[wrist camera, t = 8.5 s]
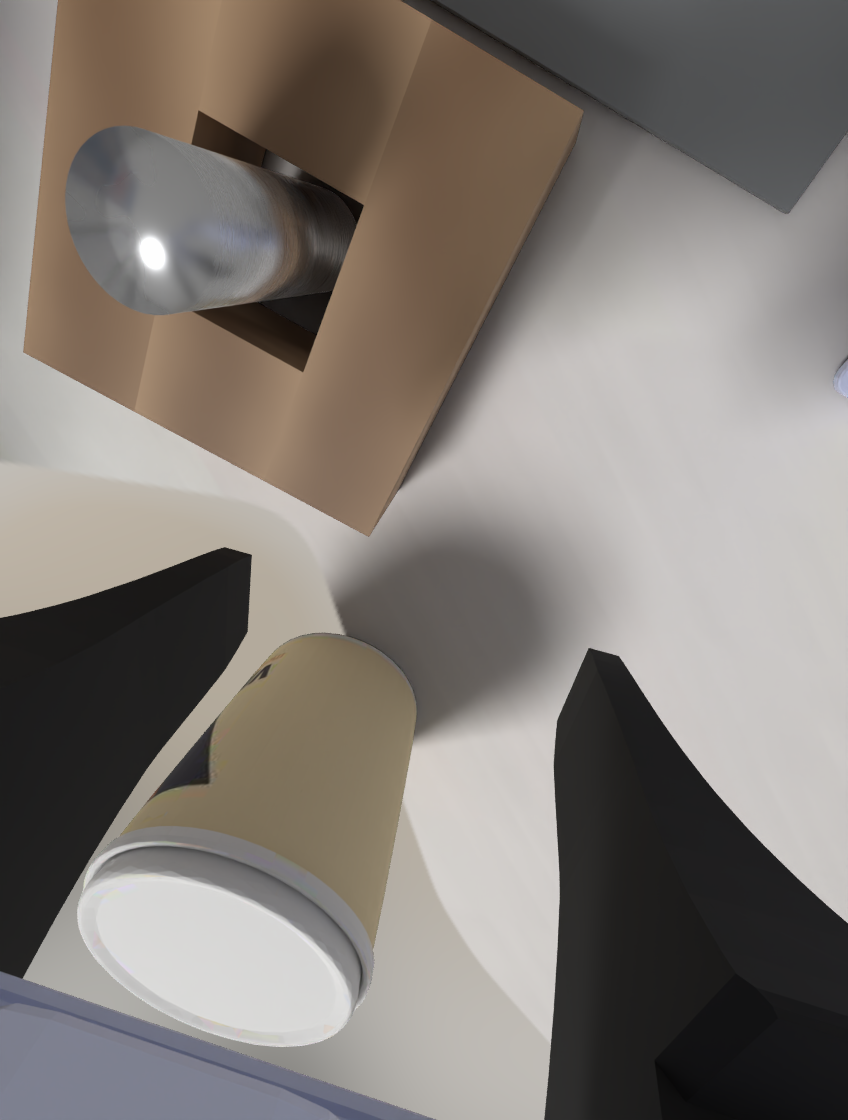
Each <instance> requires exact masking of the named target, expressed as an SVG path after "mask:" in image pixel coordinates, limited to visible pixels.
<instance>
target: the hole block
mask: <svg viewBox="0 0 848 1120" xmlns="http://www.w3.org/2000/svg"><path fill="white" fill-rule="evenodd" d="M583 112H584V110H582V109H580V108H579V107H577V106H575V105H574V104H572V103H570V102H569V101H567V100H565V99H564V98H562V97H560V96H559V95H557V94H555V93H554V92H552V91H550V90H549V89H547V88H545V87H544V86H542V85H540V84H539V83H537V82H535V81H534V80H532V79H530V78H529V77H527V76H525V75H524V74H522V73H520V72H519V71H517V70H515V69H514V68H512V67H510V66H509V65H507V64H505V63H504V62H502V61H500V60H499V59H497V58H495V57H494V56H492V55H490V54H489V53H487V52H485V51H484V50H482V49H481V48H479V47H477V46H476V45H474V44H472V43H471V42H469V41H467V40H466V39H464V38H462V37H461V36H459V35H457V34H456V33H454V32H452V31H451V30H449V29H447V28H446V27H444V26H442V25H441V24H439V23H437V22H436V21H434V20H432V19H431V18H429V17H427V16H426V15H424V14H422V13H421V12H419V11H417V10H416V9H414V8H412V7H411V6H409V5H407V4H406V3H404V2H402V1H401V0H58V6H57V16H56V26H55V36H54V46H53V57H52V67H51V77H50V87H49V97H48V107H47V117H46V127H45V138H44V148H43V158H42V168H41V178H40V188H39V198H38V209H37V219H36V229H35V239H34V249H33V259H32V269H31V279H30V290H29V300H28V310H27V320H26V330H25V340H24V350H23V352H24V353H26V354H28V355H29V356H31V357H33V358H35V359H37V360H39V361H41V362H43V363H44V364H46V365H48V366H50V367H52V368H54V369H56V370H58V371H59V372H61V373H63V374H65V375H67V376H69V377H71V378H73V379H74V380H76V381H78V382H80V383H82V384H84V385H86V386H87V387H89V388H91V389H93V390H95V391H97V392H99V393H101V394H102V395H104V396H106V397H108V398H110V399H112V400H114V401H116V402H117V403H119V404H121V405H123V406H125V407H127V408H129V409H131V410H132V411H134V412H136V413H138V414H140V415H142V416H144V417H145V418H147V419H149V420H151V421H153V422H155V423H157V424H159V425H160V426H162V427H164V428H166V429H168V430H170V431H172V432H174V433H175V434H177V435H179V436H181V437H183V438H185V439H187V440H189V441H190V442H192V443H194V444H196V445H198V446H200V447H202V448H203V449H205V450H207V451H209V452H211V453H213V454H215V455H217V456H218V457H220V458H222V459H224V460H226V461H228V462H230V463H232V464H233V465H235V466H237V467H239V468H241V469H243V470H245V471H247V472H248V473H250V474H252V475H254V476H256V477H258V478H260V479H261V480H263V481H265V482H267V483H269V484H271V485H273V486H275V487H276V488H278V489H280V490H282V491H284V492H286V493H288V494H290V495H291V496H293V497H295V498H297V499H299V500H301V501H303V502H305V503H306V504H308V505H310V506H312V507H314V508H316V509H318V510H319V511H321V512H323V513H325V514H327V515H329V516H331V517H333V518H334V519H336V520H338V521H340V522H342V523H344V524H346V525H348V526H349V527H351V528H353V529H355V530H357V531H359V532H361V533H363V534H364V535H366V536H368V537H369V536H370V534H371V533H372V531H373V529H374V528H375V526H376V525H377V523H378V522H379V520H380V518H381V517H382V515H383V514H384V512H385V511H386V509H387V507H388V506H389V504H390V503H391V501H392V499H393V498H394V496H395V495H396V493H397V491H398V489H399V488H400V486H401V484H402V482H403V480H404V478H405V476H406V474H407V472H408V470H409V468H410V466H411V464H412V462H413V460H414V458H415V456H416V454H417V452H418V450H419V448H420V446H421V444H422V442H423V441H424V439H425V437H426V435H427V433H428V431H429V429H430V427H431V425H432V423H433V421H434V419H435V417H436V415H437V413H438V411H439V409H440V407H441V405H442V403H443V401H444V399H445V397H446V395H447V394H448V392H449V390H450V388H451V386H452V384H453V382H454V380H455V378H456V376H457V374H458V372H459V370H460V368H461V366H462V364H463V362H464V360H465V358H466V356H467V354H468V352H469V350H470V348H471V346H472V345H473V343H474V341H475V339H476V337H477V335H478V333H479V331H480V329H481V327H482V325H483V323H484V321H485V319H486V317H487V315H488V313H489V311H490V309H491V307H492V305H493V303H494V301H495V299H496V298H497V296H498V294H499V292H500V290H501V288H502V286H503V284H504V282H505V280H506V278H507V276H508V274H509V272H510V270H511V268H512V266H513V264H514V262H515V260H516V258H517V256H518V254H519V252H520V250H521V249H522V247H523V245H524V243H525V241H526V239H527V237H528V235H529V233H530V231H531V229H532V227H533V225H534V223H535V221H536V219H537V217H538V215H539V213H540V211H541V209H542V207H543V205H544V203H545V202H546V200H547V198H548V196H549V194H550V192H551V190H552V188H553V186H554V184H555V182H556V180H557V178H558V176H559V174H560V172H561V170H562V168H563V166H564V164H565V162H566V160H567V158H568V156H569V154H570V153H571V151H572V149H573V147H574V145H575V143H576V140H577V136H578V132H579V128H580V124H581V120H582V116H583ZM114 126H133V127H138V128H142V129H145V130H148V131H151V132H154V133H157V134H160V135H163V136H167V137H170V138H173V139H176V140H179V141H182V142H185V143H188V144H191V145H194V146H197V147H200V148H203V149H206V150H209V151H212V152H216V153H219V154H222V155H225V156H228V157H231V158H234V159H237V160H240V161H243V162H246V163H249V164H252V165H255V166H258V167H261V165H262V161H263V158H264V154H265V150H266V149H267V150H269V151H271V152H272V153H274V154H276V155H278V156H279V157H281V158H283V159H285V160H286V161H288V162H290V163H292V164H293V165H295V166H297V167H299V168H300V169H302V170H304V171H305V172H307V173H309V174H311V175H312V176H314V177H316V178H318V179H319V180H321V181H323V182H325V183H326V184H328V185H330V186H332V187H333V188H335V189H337V190H339V191H340V192H342V193H344V194H346V195H347V196H349V197H351V198H353V199H354V200H356V201H358V202H359V203H361V204H363V205H364V207H363V210H362V213H361V215H360V218H359V221H358V224H357V226H356V229H355V232H354V235H353V237H352V240H351V243H350V246H349V248H348V251H347V254H346V257H345V259H344V262H343V265H342V268H341V270H340V273H339V276H338V279H337V281H336V284H335V287H334V290H333V292H332V295H331V298H330V301H329V303H328V306H327V309H326V312H325V314H324V317H323V320H322V322H321V325H320V328H319V331H318V333H317V335H315V334H313V333H311V332H310V331H308V330H306V329H304V328H302V327H301V326H299V325H297V324H295V323H293V322H292V321H290V320H288V319H286V318H284V317H283V316H281V315H279V314H277V313H275V312H274V311H272V310H270V309H268V308H266V307H265V306H263V305H261V304H259V303H257V302H253V303H246V304H239V305H232V306H225V307H218V308H211V309H204V310H197V311H190V312H183V313H176V314H169V315H150V314H144V313H141V312H138V311H135V310H133V309H131V308H128V307H126V306H125V305H123V304H121V303H120V302H118V301H117V300H115V299H114V298H113V297H112V296H110V295H109V294H108V293H107V292H106V291H105V290H104V289H103V288H102V287H101V286H100V285H99V284H98V283H97V282H96V281H95V279H94V278H93V277H92V275H91V274H90V273H89V271H88V270H87V268H86V267H85V265H84V263H83V262H82V260H81V258H80V256H79V254H78V252H77V250H76V247H75V245H74V242H73V239H72V237H71V234H70V230H69V226H68V221H67V215H66V205H65V191H66V182H67V176H68V172H69V169H70V166H71V163H72V161H73V159H74V157H75V155H76V153H77V152H78V150H79V149H80V147H81V146H82V145H83V144H84V143H85V142H86V141H87V140H88V139H89V138H90V137H91V136H93V135H94V134H95V133H97V132H99V131H101V130H103V129H106V128H110V127H114Z"/></svg>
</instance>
